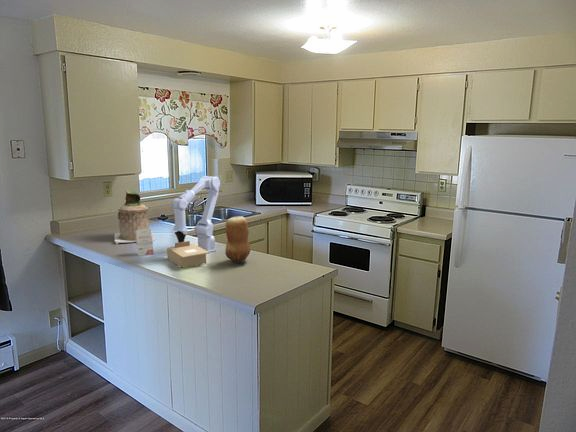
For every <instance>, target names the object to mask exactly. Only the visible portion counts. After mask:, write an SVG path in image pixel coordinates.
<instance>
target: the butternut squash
mask: <svg viewBox="0 0 576 432" xmlns="http://www.w3.org/2000/svg"><path fill="white" fill-rule="evenodd" d="M225 234H226V238H227V242H226V245H225V256H226V258H227V259H228V260H229V261H232V262H233V263H235V264H237V263H238V262H241V263H243V262H245V261H246V259H247V258H248V257H249V255H250V253H251V246H250V242H249V225H248V221H247V218H246V217H244V216H243V215H241V216H239V215H238V216H232V217H230V218H227V220H226V221H225Z"/></svg>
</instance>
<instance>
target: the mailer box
mask: <svg viewBox="0 0 576 432" xmlns="http://www.w3.org/2000/svg"><path fill="white" fill-rule="evenodd" d="M168 248H169V247H167V248H166V255H167V257H166V258H168V259H167V260H169V261H170V260H171V261H170V262H172V263H173V262H174V263H173V264H175V265H176V264H177V265H178V267H179V266H180V267H184V268H187V267H186V266H189V267H193V266H192V265H195V266H199V264H200V265H204V264H203V263H205V264H207V254H203V255H197V256H191V257H185V258H182V257H180V256H179V255H177V254H176V253H174V252H172V251H171V250H169V249H168ZM177 265H176V266H177Z"/></svg>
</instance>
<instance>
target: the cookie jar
mask: <svg viewBox="0 0 576 432" xmlns="http://www.w3.org/2000/svg"><path fill="white" fill-rule="evenodd" d="M124 199H125V203H124V204H123V205H122V206H120V207H118V213H117V219H118V220H119V221H118V224H119V226H118V229H119V232H115V233H114V242H115V244H116V245H118V244H123V243H124V244H125V243H137V239H136V235H137V234H136V230H148V229H150V224H149V218H148V210H149V207H148V206H146V205H145V204H142V203H140V202H141V196H140V194H138V192H137V191H135V190H125V198H124ZM141 233H146V232H145V231H143V232H141ZM151 233H152V239H153V242H154V241H155V239H156V237H155V234H154V233H153V231H152V230H151Z"/></svg>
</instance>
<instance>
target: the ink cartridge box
mask: <svg viewBox="0 0 576 432" xmlns="http://www.w3.org/2000/svg"><path fill="white" fill-rule="evenodd" d="M143 231H145V232H146V233H141V232H143ZM151 231H152V229H151V228H149V229H148V230H136V234H137V235H136V239H137V242H136V247H137V248H136V249H137V256H147V255H146V254H151V255H154V243H153V242H154V241H153V239H152V233H151Z"/></svg>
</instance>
